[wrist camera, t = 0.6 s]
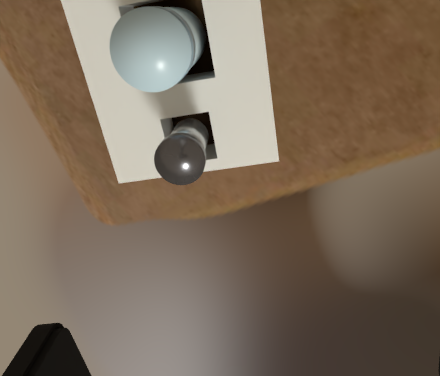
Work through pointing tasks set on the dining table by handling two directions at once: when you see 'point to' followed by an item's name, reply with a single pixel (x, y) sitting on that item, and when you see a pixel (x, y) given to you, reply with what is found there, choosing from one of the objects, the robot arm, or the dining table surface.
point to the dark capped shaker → (183, 152)
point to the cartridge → (156, 46)
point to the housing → (181, 89)
